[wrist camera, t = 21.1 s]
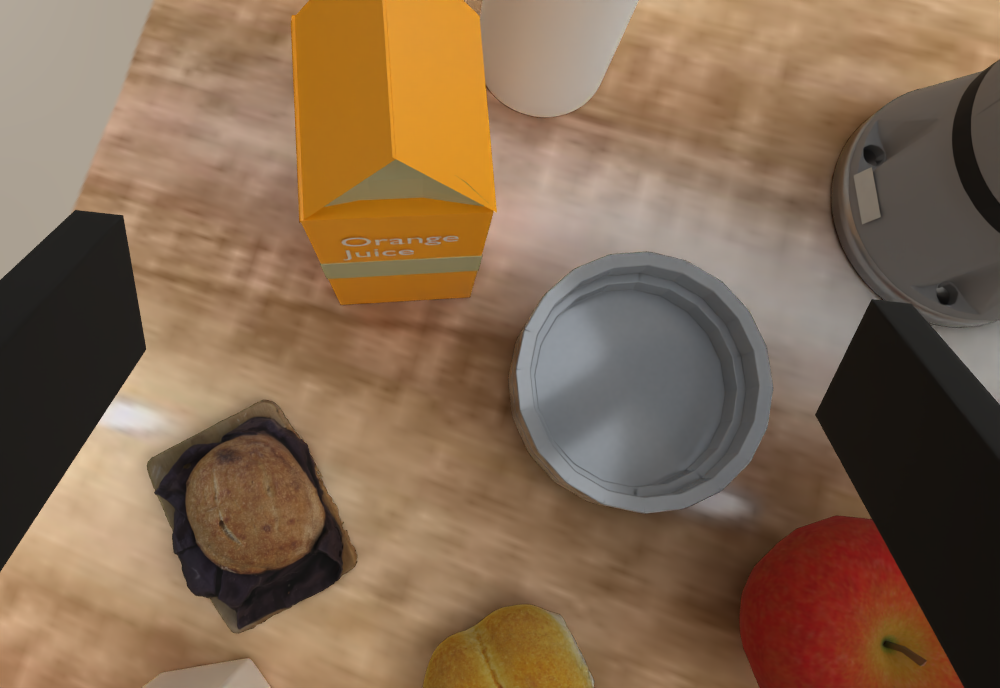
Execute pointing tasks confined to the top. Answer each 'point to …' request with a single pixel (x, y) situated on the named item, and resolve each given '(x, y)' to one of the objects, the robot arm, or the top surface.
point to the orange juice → (393, 146)
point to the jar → (213, 676)
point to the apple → (837, 615)
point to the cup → (549, 50)
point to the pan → (641, 383)
